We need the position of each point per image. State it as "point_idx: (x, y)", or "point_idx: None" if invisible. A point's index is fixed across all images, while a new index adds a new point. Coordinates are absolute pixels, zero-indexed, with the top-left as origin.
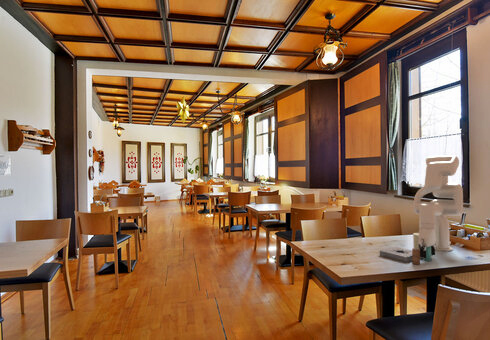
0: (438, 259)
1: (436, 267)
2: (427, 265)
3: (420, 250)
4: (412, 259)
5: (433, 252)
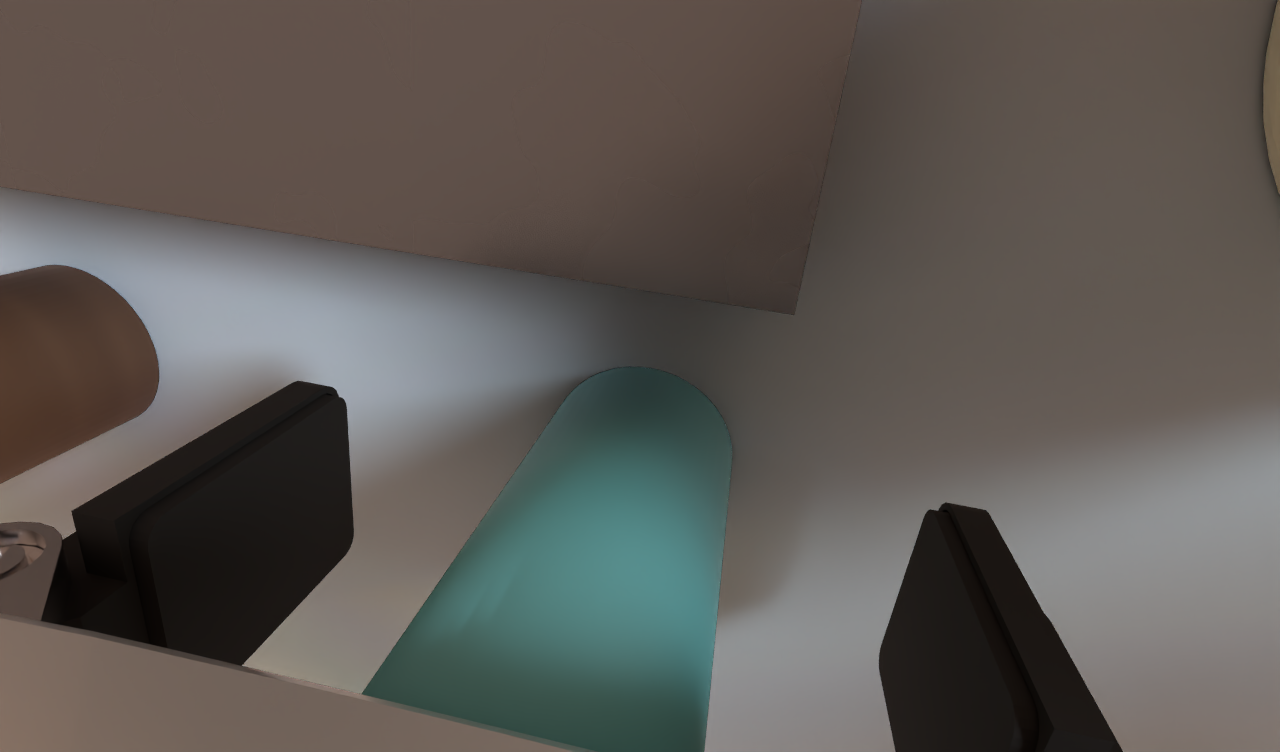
0: None
1: None
2: None
3: (100, 532)
4: None
5: (899, 721)
